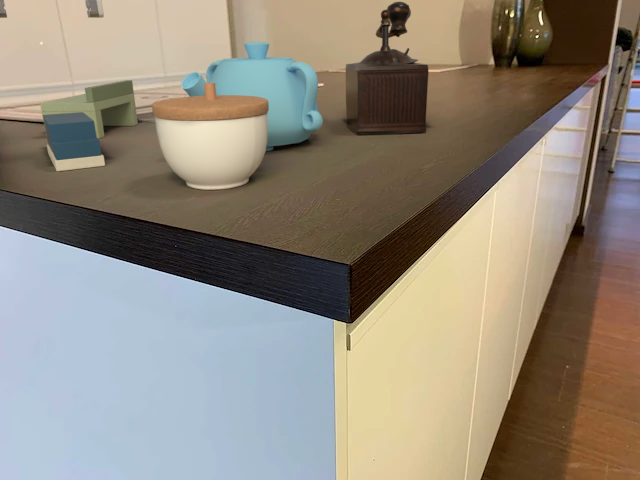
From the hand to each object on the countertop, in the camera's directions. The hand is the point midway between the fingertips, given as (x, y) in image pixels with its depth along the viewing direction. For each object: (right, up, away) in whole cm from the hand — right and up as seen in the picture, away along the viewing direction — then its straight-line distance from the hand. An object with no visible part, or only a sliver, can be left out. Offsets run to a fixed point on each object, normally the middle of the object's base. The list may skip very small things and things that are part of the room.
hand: (49, 17), depth 58 cm
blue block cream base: (0, -14, +6) cm, 16 cm away
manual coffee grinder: (+39, -6, +26) cm, 47 cm away
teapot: (+20, -12, +12) cm, 26 cm away
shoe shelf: (-6, -7, +25) cm, 27 cm away
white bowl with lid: (+19, -18, -5) cm, 27 cm away
